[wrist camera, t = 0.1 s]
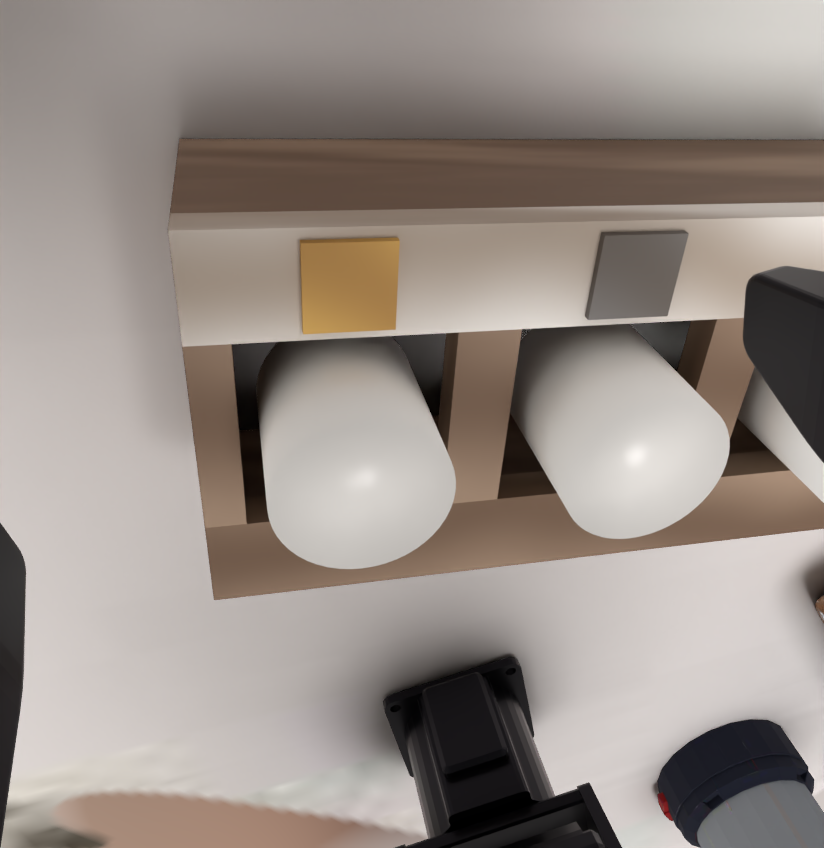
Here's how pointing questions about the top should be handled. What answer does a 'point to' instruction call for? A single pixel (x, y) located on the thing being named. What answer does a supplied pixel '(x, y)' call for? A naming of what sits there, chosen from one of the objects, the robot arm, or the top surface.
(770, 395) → the button
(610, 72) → the top surface
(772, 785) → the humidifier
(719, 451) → the middle button
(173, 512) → the top surface
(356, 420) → the button
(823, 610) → the tin
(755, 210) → the brown compartment box
